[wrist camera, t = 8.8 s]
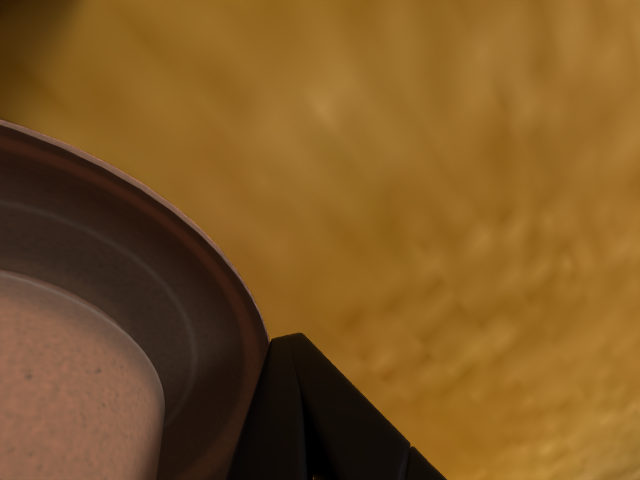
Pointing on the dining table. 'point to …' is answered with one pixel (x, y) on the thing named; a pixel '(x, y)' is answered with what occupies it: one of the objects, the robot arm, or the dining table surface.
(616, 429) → the dining table surface
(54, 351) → the cup and saucer
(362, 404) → the robot arm
